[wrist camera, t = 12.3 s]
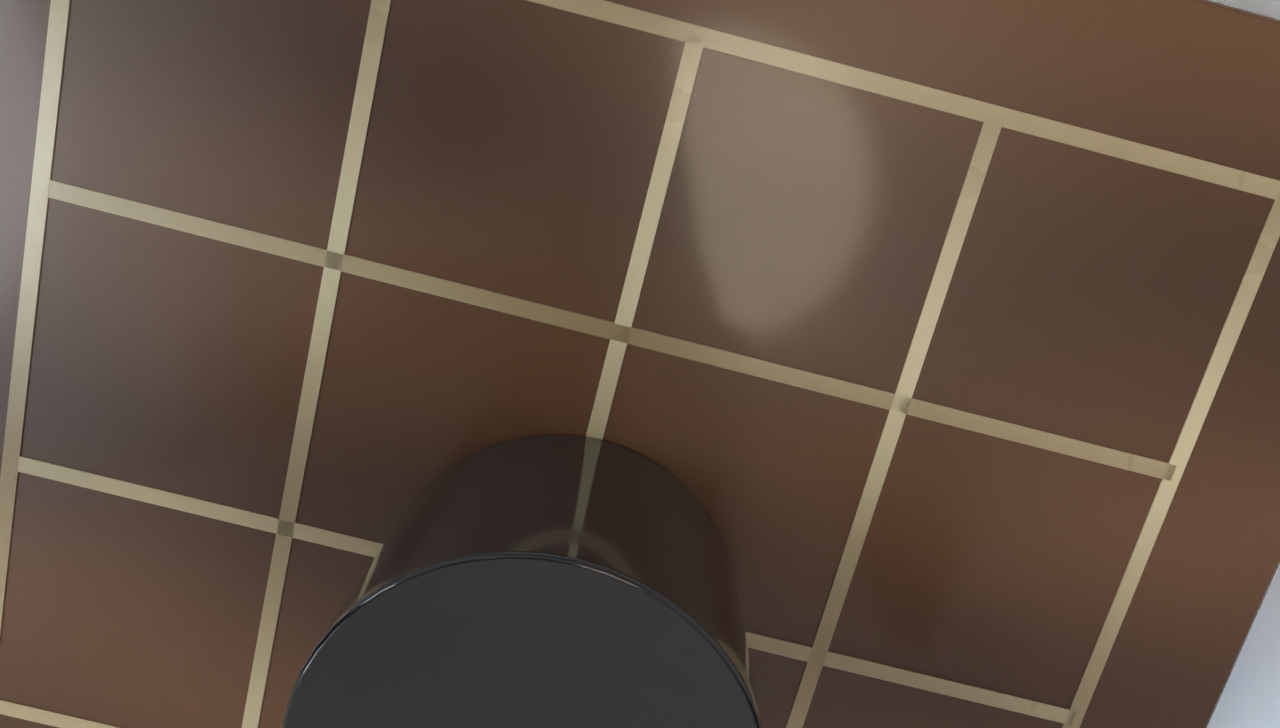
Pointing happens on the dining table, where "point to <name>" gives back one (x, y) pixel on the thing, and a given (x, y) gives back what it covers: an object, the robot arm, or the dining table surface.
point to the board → (647, 331)
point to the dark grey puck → (540, 604)
